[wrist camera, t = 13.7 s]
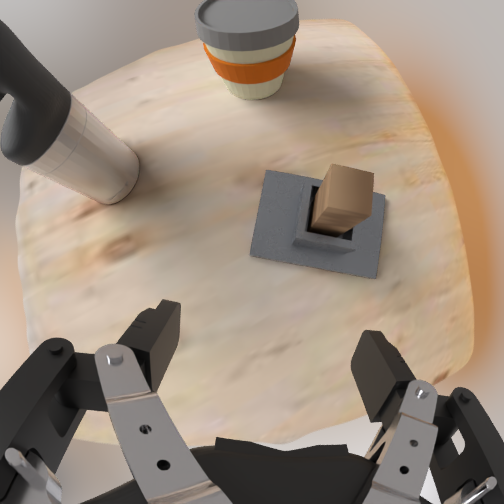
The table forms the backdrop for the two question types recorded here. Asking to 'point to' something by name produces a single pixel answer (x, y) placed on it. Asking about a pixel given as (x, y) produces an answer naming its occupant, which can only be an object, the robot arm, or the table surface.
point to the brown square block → (341, 201)
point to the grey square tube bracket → (310, 244)
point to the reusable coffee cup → (249, 42)
